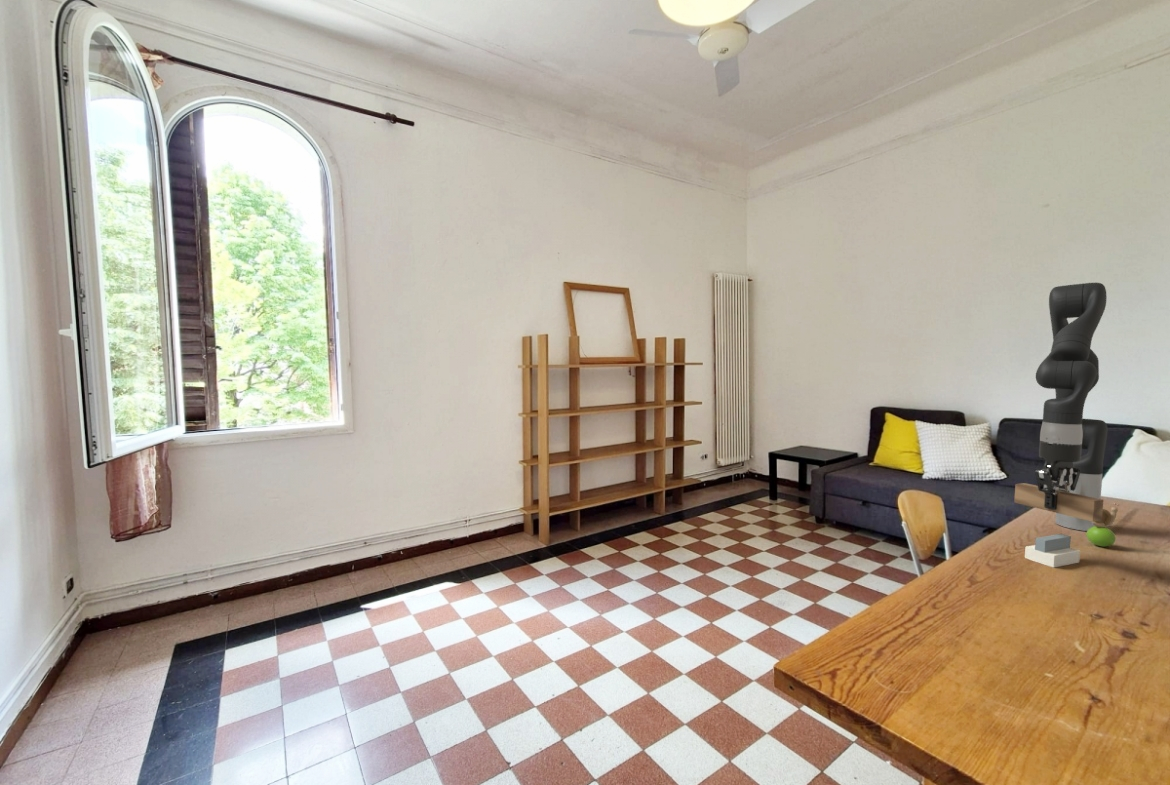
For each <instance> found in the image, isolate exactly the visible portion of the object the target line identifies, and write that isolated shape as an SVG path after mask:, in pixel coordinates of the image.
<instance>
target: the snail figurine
mask: <svg viewBox="0 0 1170 785" xmlns="http://www.w3.org/2000/svg"><path fill="white" fill-rule="evenodd" d="M1113 505H1114V507H1113V506H1112V507H1110V511H1109V510H1107V509H1105V508H1103V512H1102V520H1101V521H1094V522H1095V523H1094V522H1093V523H1092V524H1093V525H1094V527H1091V528H1090V529H1088V531H1086V538H1087V539H1088V541H1089V543H1091V544H1092V545H1095V546H1098V547H1104V548H1105V547H1110V546H1112V545H1114V544H1115V542H1116V534H1115V533H1114V531H1112V530H1111V529H1109V528H1108V527H1110V526H1111V525H1113V523H1114V522H1115V519H1116V518H1117V517H1116V516H1117V512H1119V509H1118V507H1119V506H1120V504H1119V503H1117V502H1113ZM1116 506H1117V507H1116Z"/></svg>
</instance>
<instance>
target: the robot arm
mask: <svg viewBox="0 0 1170 785" xmlns="http://www.w3.org/2000/svg"><path fill="white" fill-rule="evenodd" d="M1106 306H1107V289H1106V287H1105V285H1104V284H1103V283H1101V282H1085V283H1076V284H1065V285H1060V286H1059V285H1058V286H1055V287H1053V288H1052V289H1051V290H1050V292H1049V297H1048V308H1049V316H1050V324H1051V330H1052V332H1051V333H1052V340H1053V341H1052V345H1051V349H1050V353H1049V354H1048V355H1047V356H1046V357H1045V358H1044V359H1043V361H1042V362H1041V363H1040V364H1039V365H1038V368H1037V369H1036V373H1035V379H1036V380H1035V381H1036V382H1037V384H1038V385H1039V386H1040V387H1042V388H1044V389H1048V390H1049V389H1050V390H1051V389H1053V390H1055V397H1054V398H1049V399H1046V400H1045V401H1044V404H1043V411H1042V412H1043V414H1042V415H1043V416H1042V423H1041V428H1040V433H1039V448H1038V456H1039V458H1041V459H1044V464H1043V468H1042V469H1036V470H1034V473H1035V480H1036V484H1037V486H1038V490H1039V491H1042V492H1043V493H1045V503H1044V507H1045V508H1047V509H1051V510H1056V509H1057V497H1058V496H1057V494H1058V490H1060V491H1064V492H1069V493H1074V494H1079V495H1083V496H1088V497H1093V498H1098V499H1102V484H1103V472H1104V460H1105V452H1106V446H1107V439H1108V432H1109V431H1108V424H1107V423H1106V422H1105V420H1101V419H1092V418H1084V408H1085V403H1086V400H1087V397H1088V394H1089V392H1091V391H1092V390H1093V389H1094V387H1096V385H1097V383H1098V382H1099V378H1100V369H1099V367H1100V366H1099V365H1100V362H1099V358H1098V356H1097V354H1096V353H1095V351H1093V349H1091V346H1092V340H1093V337H1094V334H1095V332H1096V330H1097V328H1098V326H1099V324H1100V322H1101V319H1102V317H1103V315H1104V312H1105V310H1106ZM1072 318H1076V319H1074V320H1073V321H1071V322H1069V321H1068V319H1072ZM1082 450H1088V451H1087V453H1086V454H1084V455H1082ZM1054 518H1055V519H1054V521H1055V522H1054V523H1055V524H1056V525H1059V526H1061V527H1064V528H1068V529H1072V530H1077V531H1084V532H1087V531H1088V529H1090V528H1091V527H1094V525H1093V524H1092V523H1093V522H1092V521H1088V520H1083V519H1079V518H1075V517H1071V516H1067V515H1063V514H1059V513H1055V517H1054ZM1094 523H1095V522H1094Z"/></svg>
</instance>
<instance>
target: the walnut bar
mask: <svg viewBox="0 0 1170 785" xmlns="http://www.w3.org/2000/svg"><path fill="white" fill-rule="evenodd" d="M1014 486H1015V487H1014V501H1013V503H1016V504H1018V505H1019V504H1020V505H1023V506H1027V507H1031V508H1034V509H1040V510H1044V511H1048V512H1051V513H1055V514H1056V513H1059V514H1063V515H1067V516H1071V517H1075V518H1079V519H1083V520H1088V521H1092V522H1094V521H1101V520H1102V512H1103V509H1104V499H1102V498H1101V499H1098V498H1093V497H1088V496H1083V495H1079V494H1074V493H1069V492H1064V491H1060V490H1058V494H1057V496H1058V497H1057V509H1056V510H1051V509H1047V508H1045V507H1044V503H1045V493H1043V492H1042V491H1039V490H1038V485H1036V484H1030V483H1023V482H1020V483H1015V484H1014Z"/></svg>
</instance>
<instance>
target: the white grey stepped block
mask: <svg viewBox="0 0 1170 785" xmlns="http://www.w3.org/2000/svg"><path fill="white" fill-rule="evenodd" d="M1071 539H1072V536H1070V535H1068V534H1063V533H1057V534H1052V535H1044V536H1039V537H1035V541H1034V542H1035V544H1034V545H1027V546H1025V550H1024V558H1025V559H1027V560H1030V561H1033V562H1036V563H1039V564H1042V565H1045V566H1048V567H1050V568H1058V567H1063V566H1064V567H1065V566H1069V565H1074V564H1079V563H1080V558H1081V557H1080V556H1081V550H1079V549H1078V550H1077V549H1075V548H1072V547H1071Z"/></svg>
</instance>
